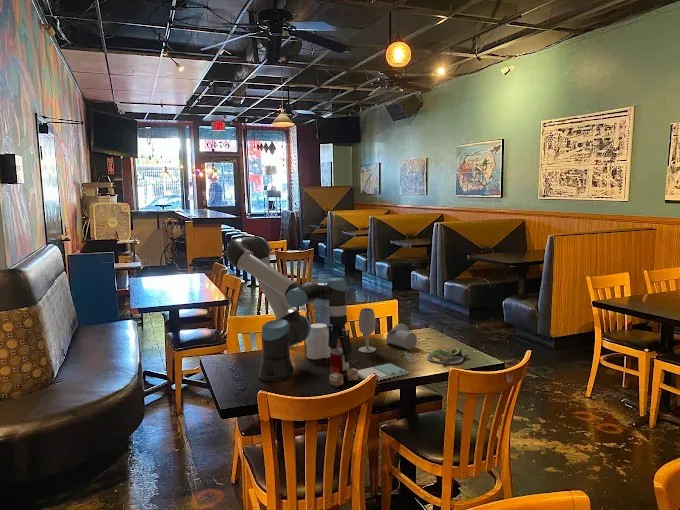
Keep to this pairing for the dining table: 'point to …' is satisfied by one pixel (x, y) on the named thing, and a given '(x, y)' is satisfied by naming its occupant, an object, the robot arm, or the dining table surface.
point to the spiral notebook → (382, 372)
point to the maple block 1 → (336, 379)
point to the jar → (318, 342)
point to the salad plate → (447, 356)
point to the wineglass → (367, 327)
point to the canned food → (337, 362)
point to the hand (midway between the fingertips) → (340, 366)
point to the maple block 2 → (352, 374)
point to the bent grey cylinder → (401, 337)
